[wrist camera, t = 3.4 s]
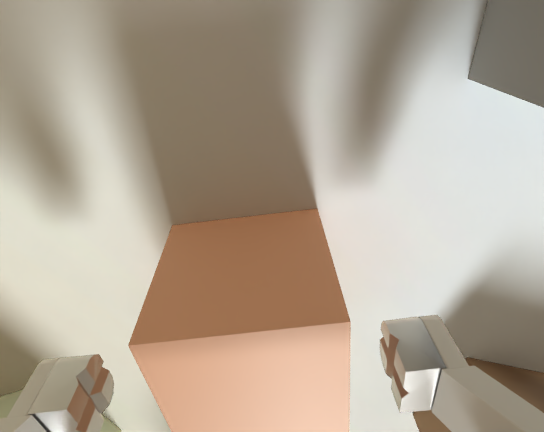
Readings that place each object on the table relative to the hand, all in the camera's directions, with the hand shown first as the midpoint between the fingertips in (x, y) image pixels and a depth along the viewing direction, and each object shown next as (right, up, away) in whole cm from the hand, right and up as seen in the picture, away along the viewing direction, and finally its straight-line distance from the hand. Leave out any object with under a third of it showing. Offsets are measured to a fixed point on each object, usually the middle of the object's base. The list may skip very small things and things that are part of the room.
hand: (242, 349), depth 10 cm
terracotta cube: (0, +2, +3) cm, 4 cm away
